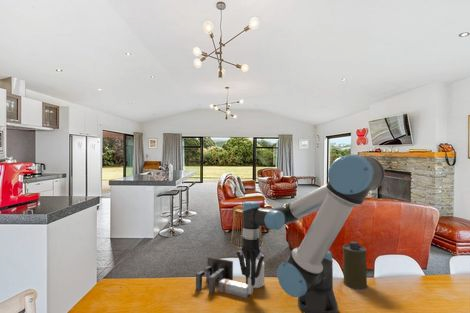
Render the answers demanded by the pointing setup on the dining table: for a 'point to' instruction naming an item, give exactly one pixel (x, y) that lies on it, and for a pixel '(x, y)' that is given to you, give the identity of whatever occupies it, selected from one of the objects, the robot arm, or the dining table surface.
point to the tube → (233, 287)
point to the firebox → (215, 272)
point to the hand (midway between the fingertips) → (250, 292)
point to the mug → (260, 279)
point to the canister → (354, 266)
